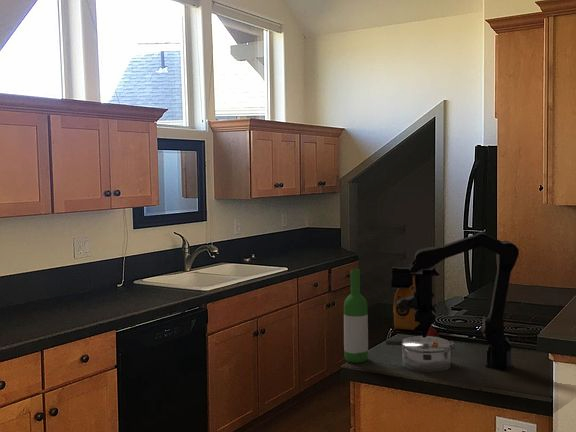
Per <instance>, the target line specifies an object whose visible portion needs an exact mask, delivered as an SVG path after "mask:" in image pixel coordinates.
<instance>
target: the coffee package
mask: <svg viewBox="0 0 576 432" xmlns="http://www.w3.org/2000/svg"><path fill="white" fill-rule="evenodd" d="M414 292H415V276H413V286H411V287H409V289H397V290H396V292H395V294H394V299H393V326H394V328H395V329H396V330H397V329H398V330H399V329H401V330H407V331H414V330H416V328H417V327H419V326H420V323H419V322H415V317H414V313H415V312H416V311H417V310H414V308H412V309H409V310H406V311H404V312H400V311H399V308H398V305H397V301H398V300H400V299H403V298H406V297H409V296H413V295H414Z"/></svg>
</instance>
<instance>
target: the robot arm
mask: <svg viewBox="0 0 576 432" xmlns="http://www.w3.org/2000/svg"><path fill="white" fill-rule="evenodd" d="M481 247H482V248H485V249H486V250H489V251H491V252H493V253H494V254H496V255H495V258H496V274H495V280H494V287H493V292H492V298H491V304H490V310H489V313H488V315H487V316H484V315H483V316H482V323H481V324H482V325H481V326H480V330H481V332H482V335H483V337H484V339H485V341H486V343H488V344H489V345H488V346H487V350H486V364H485V367H486V368H490V369H495V370H498V371H507V370H509V369H511V368H512V367H514V364H513V363H512V344H511V342H510V340H509V339H508V337H507V336H506V335H505V323H504V322H505V321H504V314H505V313H504V312H505V308H506V302H507V296H508V291H509V285H510V279H511V275H512V274H511V273H512V271H513V269H514V267H515V265H516V263H517V260H518V257H519V255H520V250H519V249H518V247H517V245H516V244H515V243H513V242H512V241H510V240H499V239H498V238H495V237H492V236H491V235H488V234H486V233H485V232H483V231H481V232H480V231H479V232H476V234H473V235H470V236H467V237H464V238H462V239H458V240H455V241H453V242H449V243H446V244H444V245H439V246H430V247H425V248H420V249H418V250H417V251H416V252H415V254H414V260H413V261H412V262H411V263H410V264H409V267H397V266H392V268H391V280H390V281H391V289H397V290H398V289H409V287H411V286H413V277H414V278H415V292H414V295H413V296H409V297H406V298H403V299H400V300H398V301H397V305H398V308H399V311H400V312H404V311H406V310H409V309H412V308H414V310H417V311H416V312H415V313H414V317H415V322H419V326H420V327H419V329H420V332H421V336H422V337H423V338H426V336H427V333H428V331H429V329H430V327H432V324H433V323H436V313H435V311H434V310H435V309H434V306H435V305H434V295H435V293H434V277H436V276H437V277H439V276H440V271H438V270H437V269H436V268H435V266H436V265H438V264H439V263H441V262H442V261H444V260H445V259H448V258H451V257H454V256H456V255H460V254H462V253H465V252H468V251H472V250H474V249H477V248H481ZM421 270H422V271H421Z"/></svg>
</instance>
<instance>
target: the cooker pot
mask: <svg viewBox="0 0 576 432" xmlns="http://www.w3.org/2000/svg"><path fill="white" fill-rule="evenodd" d="M401 351H402V352H401V353H402V354H401V356H402V357H401V358H402V359H401V361H402V364H403V365H402V366H403V367H404V366H405V367H404V368H406V367H407V369H408V368H409V369H408V370H411V371H414V370H415V372H420V371H423V372H422V373H437V371H439V372H443V371H446V369H447V370H448V369H450V368H451V348H450V349H448V350H446V351H443V352H436V353H424V352H416V351H411V350H408V349H405V348H404V347H402V346H401ZM416 370H417V371H416ZM433 371H435V372H433Z"/></svg>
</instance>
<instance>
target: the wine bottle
mask: <svg viewBox="0 0 576 432" xmlns="http://www.w3.org/2000/svg"><path fill="white" fill-rule="evenodd" d="M360 273H361V271H360V269H359V268H353V269H350V294H348V296H347V297H346V298H345V300H344V302H343V347H344V348H343V349H344V350H343V351H344V353H343V356H344V359H345V360H346V362H348V363H353V364H359V363H364V362H367V360H368V359H369V329H368V328H369V323H368V322H369V321H368V319H369V318H368V316H369V315H368V310H369V309H368V302H367V300H366V298H365V297H364V296H363V295H362V294H361V274H360Z"/></svg>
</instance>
